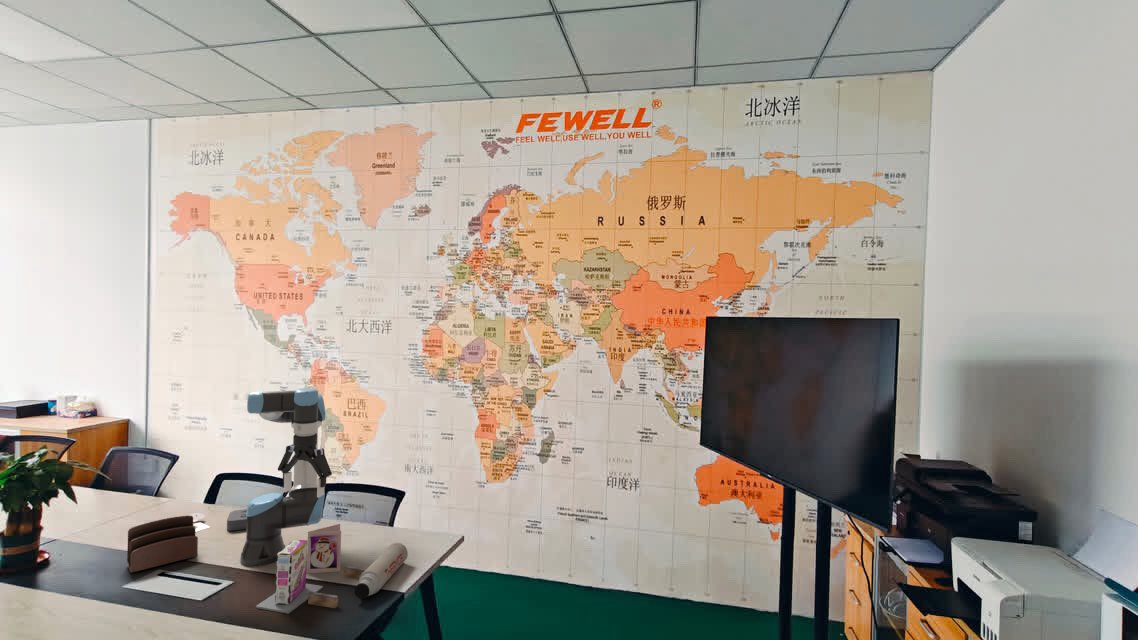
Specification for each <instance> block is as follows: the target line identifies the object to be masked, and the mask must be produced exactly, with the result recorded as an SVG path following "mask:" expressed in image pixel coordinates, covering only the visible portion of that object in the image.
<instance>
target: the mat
mask: <svg viewBox="0 0 1138 640" xmlns="http://www.w3.org/2000/svg"><path fill="white" fill-rule="evenodd" d="M322 589H324V586H323V585H316V584H311V583H306V587H305V588H304V589H303V590H302V591H301V592H300V593H299V595H298V596H297V597H296V598H295V599H294V600H293V601H292V602H291V603H290V604H289V605H282V604H275V593H273V594H272V595H270V596H268V597H267V598H265V600H263V601H261V602H259V603H258V604H256V605H255V608H256V609H261V610H265V611H266V610H267V611H271V612H276V613H281V614H287V615H289V614H290V613H292V612H293V611H295V610H296V609H297V608H298V607H299V606H301V605H302V604H304V603H305V602H306V601H307V600H308V595H309V592H317V593H319V592H320V591H321V590H322Z"/></svg>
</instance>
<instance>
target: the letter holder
mask: <svg viewBox="0 0 1138 640" xmlns="http://www.w3.org/2000/svg"><path fill="white" fill-rule="evenodd" d="M193 524H194V522H193V516H191V515H180V516H173V517H167V518H163V519H158V520H154V521H150V522H146V523H142V524H139V525H136V526H133V527H130V528H129V529H128V530H127V553H126V554H127V555H126V556H127V558H126V563H127V566H128V571H129V572H130V574H133V573H137V572H140V571H144V570H147V569H152V568H156V567H160V566H163V565H164V566H165V565H167V564H171V563H174V562H178V561H183V560H187V559H191V558H195V557H198V553H199V551H198V544H199V539H198V536H197V535H196V532H195V527H194V526H193Z"/></svg>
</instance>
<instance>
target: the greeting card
mask: <svg viewBox="0 0 1138 640" xmlns="http://www.w3.org/2000/svg"><path fill="white" fill-rule="evenodd" d="M307 540H308V541H307V562H306V574H310V573H311V574H314V573H317V574H319V573H335V572H341V553H342V552H341V551H342V550H341V549H342V530H341V523H338V524H333V525H330V526H326V527H321V528H317V529H314V530H309V531H307Z"/></svg>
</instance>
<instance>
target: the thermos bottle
mask: <svg viewBox="0 0 1138 640" xmlns="http://www.w3.org/2000/svg"><path fill="white" fill-rule="evenodd" d="M408 552H409V551H408V548H407V547H406V546H405V545H404V544H403V543H401V542H393V543H391V544H390V545H389V546H388V547H387V548H386V549H385V550H384V551H383V552H382V553H381V555H379V556H378V557H377V558H376V559H375V560H374V562H372V563H371V564H369V565H370V566H368V567H367V568H365V569H366V570H365V571H364V572H363V573H362V574H361V576H360V578H359V579H358V581H357V584H356V585H355V587H354V595H355V597H356V598H357V599H360V600H365V599H366V598H367V597H369V596H372V595H375V594H376V593H378V592H380V590H381V589H382V587H383V586H384V585H385V584H386V583H387V581H388V580H389V579H390V578H391V577H392V576H393V574H394V573H396V571H398V569H399V568H400V567H401V566H402V565H403V564H404V562H405V561H406V560H407V558H408V556H409V553H408Z"/></svg>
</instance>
